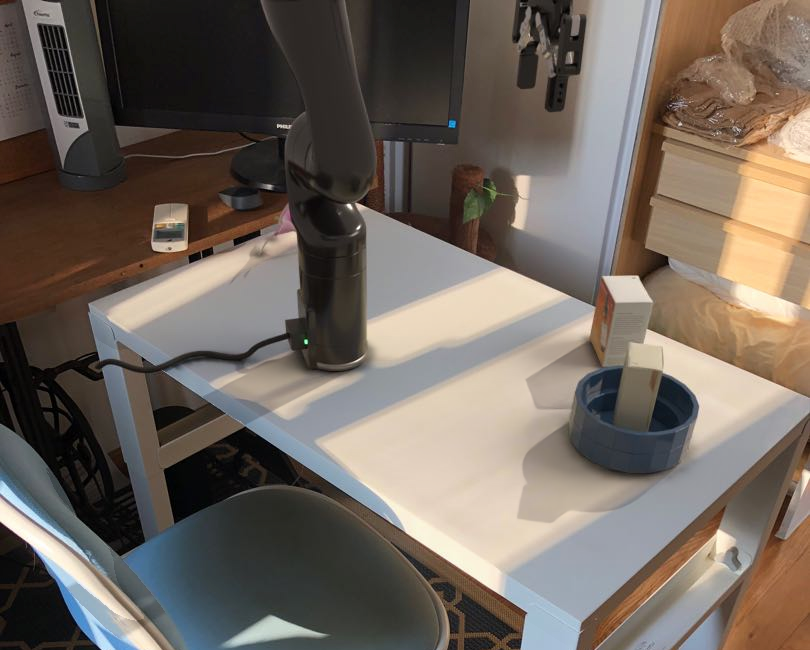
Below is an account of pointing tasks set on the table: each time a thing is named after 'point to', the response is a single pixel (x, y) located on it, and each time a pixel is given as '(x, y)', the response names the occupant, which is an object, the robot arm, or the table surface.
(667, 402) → the bowl
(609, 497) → the table surface
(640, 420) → the cosmetic box
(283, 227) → the lily
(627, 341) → the small box
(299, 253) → the robot arm
